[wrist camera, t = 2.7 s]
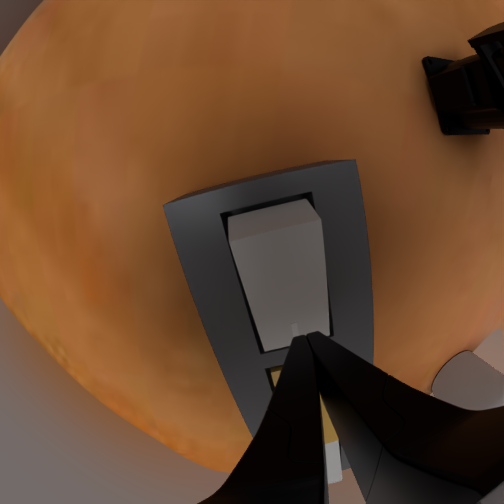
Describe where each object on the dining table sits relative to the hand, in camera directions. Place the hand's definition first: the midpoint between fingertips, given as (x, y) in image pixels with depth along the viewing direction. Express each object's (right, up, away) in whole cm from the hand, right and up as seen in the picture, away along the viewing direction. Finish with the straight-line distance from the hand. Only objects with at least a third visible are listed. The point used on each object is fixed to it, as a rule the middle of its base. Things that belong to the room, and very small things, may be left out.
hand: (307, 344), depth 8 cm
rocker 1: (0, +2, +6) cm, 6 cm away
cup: (+22, -11, +15) cm, 29 cm away
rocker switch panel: (+2, -5, +12) cm, 13 cm away
